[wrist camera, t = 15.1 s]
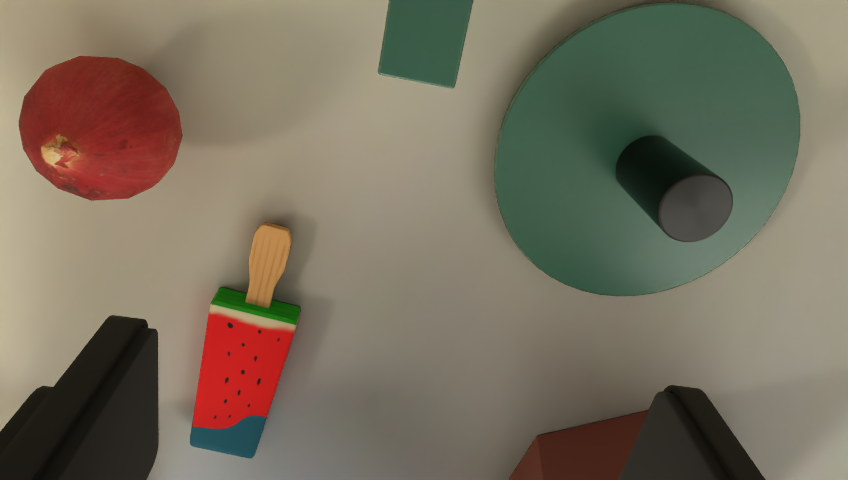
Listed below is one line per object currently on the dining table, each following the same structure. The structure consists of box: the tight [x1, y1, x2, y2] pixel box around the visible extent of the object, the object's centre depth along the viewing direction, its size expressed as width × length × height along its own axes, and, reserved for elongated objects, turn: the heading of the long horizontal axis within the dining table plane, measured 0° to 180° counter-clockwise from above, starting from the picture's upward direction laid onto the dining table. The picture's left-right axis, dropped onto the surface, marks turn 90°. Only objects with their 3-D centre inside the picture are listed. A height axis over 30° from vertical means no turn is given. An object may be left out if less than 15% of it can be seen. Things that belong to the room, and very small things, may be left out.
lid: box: [494, 3, 800, 296], centre depth 27 cm, size 15×15×7 cm
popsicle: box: [190, 222, 300, 458], centre depth 33 cm, size 4×2×15 cm
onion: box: [19, 56, 182, 201], centre depth 25 cm, size 6×6×8 cm
